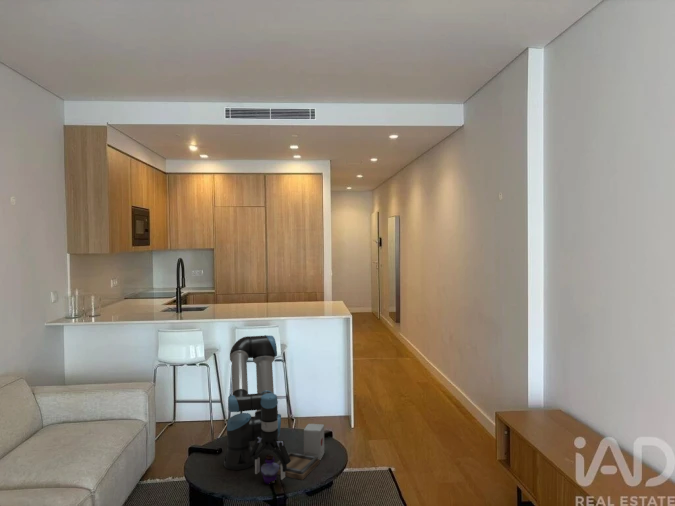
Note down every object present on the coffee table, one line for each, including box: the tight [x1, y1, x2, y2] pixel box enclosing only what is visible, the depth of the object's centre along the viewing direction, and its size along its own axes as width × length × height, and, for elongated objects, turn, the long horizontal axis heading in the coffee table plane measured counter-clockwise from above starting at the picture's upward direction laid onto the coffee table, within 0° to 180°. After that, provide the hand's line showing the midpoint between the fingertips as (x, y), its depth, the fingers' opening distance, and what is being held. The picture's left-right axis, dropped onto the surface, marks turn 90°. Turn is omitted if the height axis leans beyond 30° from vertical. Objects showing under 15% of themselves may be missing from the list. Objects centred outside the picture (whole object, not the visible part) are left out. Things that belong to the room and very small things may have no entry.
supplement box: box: [303, 423, 325, 461], centre depth 237 cm, size 9×9×15 cm
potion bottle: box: [260, 454, 279, 486], centre depth 211 cm, size 9×9×12 cm
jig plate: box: [276, 451, 321, 481], centre depth 224 cm, size 17×18×3 cm
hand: (270, 475), depth 211 cm, fingers open, 13 cm apart
